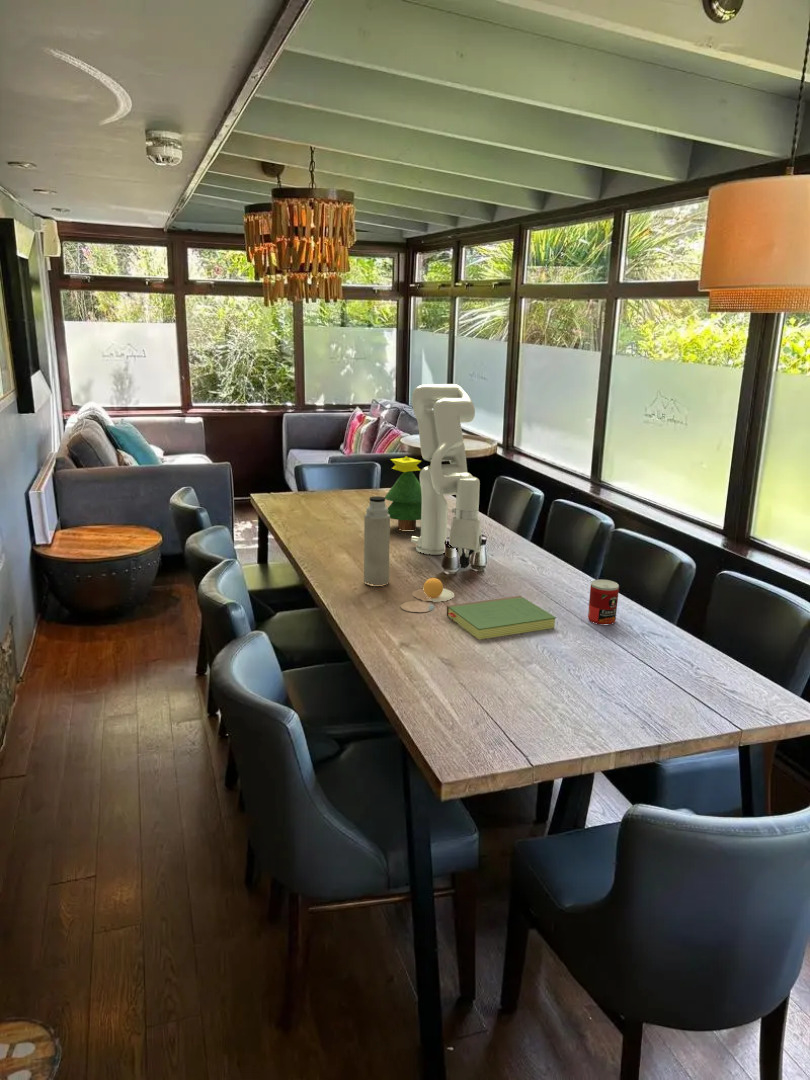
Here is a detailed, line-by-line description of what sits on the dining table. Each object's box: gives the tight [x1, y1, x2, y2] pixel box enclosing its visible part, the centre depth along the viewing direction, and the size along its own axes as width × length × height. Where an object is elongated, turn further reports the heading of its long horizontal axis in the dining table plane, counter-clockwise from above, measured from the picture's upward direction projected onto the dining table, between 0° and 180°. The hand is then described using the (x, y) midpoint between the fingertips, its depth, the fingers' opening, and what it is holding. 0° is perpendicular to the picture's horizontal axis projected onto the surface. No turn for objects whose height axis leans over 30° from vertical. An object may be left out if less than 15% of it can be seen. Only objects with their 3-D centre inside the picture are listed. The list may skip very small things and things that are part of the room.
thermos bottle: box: [363, 495, 391, 585], centre depth 244 cm, size 8×8×28 cm
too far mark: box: [426, 602, 435, 612], centre depth 228 cm, size 10×10×1 cm
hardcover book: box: [446, 595, 557, 640], centre depth 217 cm, size 25×19×4 cm
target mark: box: [430, 588, 455, 603], centre depth 238 cm, size 13×13×1 cm
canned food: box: [587, 579, 620, 625], centre depth 219 cm, size 8×8×11 cm
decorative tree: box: [384, 455, 422, 531], centre depth 309 cm, size 19×19×30 cm
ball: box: [422, 577, 444, 598], centre depth 235 cm, size 6×6×6 cm
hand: (464, 566), depth 262 cm, fingers closed
